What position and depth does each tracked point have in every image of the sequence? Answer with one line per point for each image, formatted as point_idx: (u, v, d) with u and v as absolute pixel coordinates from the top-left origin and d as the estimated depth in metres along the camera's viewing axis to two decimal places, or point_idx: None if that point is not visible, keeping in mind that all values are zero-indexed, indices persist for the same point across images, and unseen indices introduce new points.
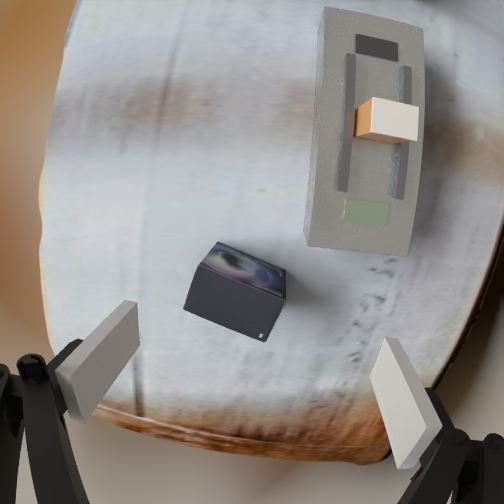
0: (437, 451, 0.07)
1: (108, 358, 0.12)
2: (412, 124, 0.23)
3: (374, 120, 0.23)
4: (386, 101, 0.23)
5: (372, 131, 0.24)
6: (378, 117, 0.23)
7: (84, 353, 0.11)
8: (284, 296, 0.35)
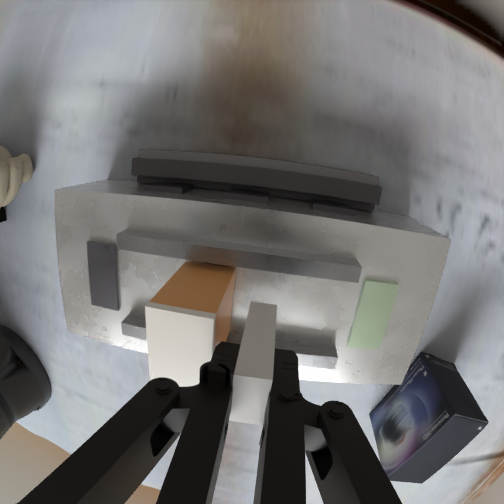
0: (269, 414, 0.09)
1: None
2: (182, 324, 0.13)
3: (189, 385, 0.15)
4: (151, 362, 0.14)
5: None
6: (182, 379, 0.14)
7: (251, 353, 0.13)
8: (450, 409, 0.20)
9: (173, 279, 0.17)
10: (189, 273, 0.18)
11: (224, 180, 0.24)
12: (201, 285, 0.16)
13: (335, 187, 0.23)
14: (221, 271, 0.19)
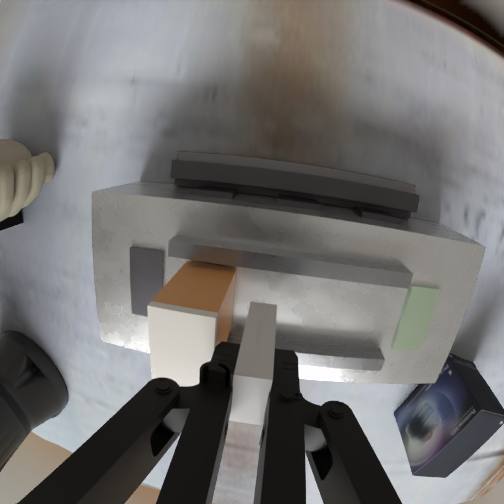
0: (269, 414, 0.09)
1: None
2: (184, 323, 0.14)
3: (190, 384, 0.15)
4: (153, 361, 0.14)
5: None
6: (184, 378, 0.15)
7: (251, 353, 0.13)
8: (476, 405, 0.20)
9: (175, 279, 0.17)
10: (190, 272, 0.18)
11: (270, 186, 0.24)
12: (203, 285, 0.16)
13: (377, 195, 0.23)
14: (222, 271, 0.19)
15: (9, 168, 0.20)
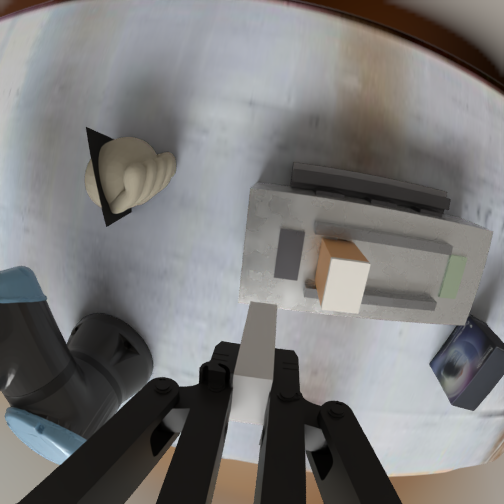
0: (269, 414, 0.09)
1: None
2: (352, 268, 0.24)
3: (346, 310, 0.25)
4: (326, 296, 0.25)
5: (357, 312, 0.25)
6: (343, 306, 0.25)
7: (251, 353, 0.13)
8: (492, 344, 0.30)
9: (328, 246, 0.27)
10: (332, 244, 0.28)
11: (360, 190, 0.34)
12: (347, 250, 0.27)
13: (425, 198, 0.33)
14: (348, 243, 0.29)
15: (155, 163, 0.30)
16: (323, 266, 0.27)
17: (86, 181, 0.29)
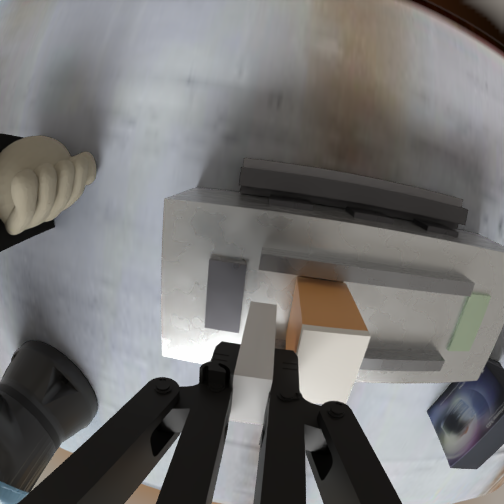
0: (269, 414, 0.09)
1: None
2: (338, 344, 0.13)
3: (326, 401, 0.15)
4: None
5: (344, 402, 0.15)
6: (322, 396, 0.14)
7: (251, 353, 0.13)
8: None
9: (303, 297, 0.17)
10: (311, 290, 0.18)
11: (340, 197, 0.23)
12: (333, 303, 0.16)
13: (434, 209, 0.23)
14: (337, 287, 0.19)
15: (52, 168, 0.20)
16: (294, 328, 0.17)
17: None
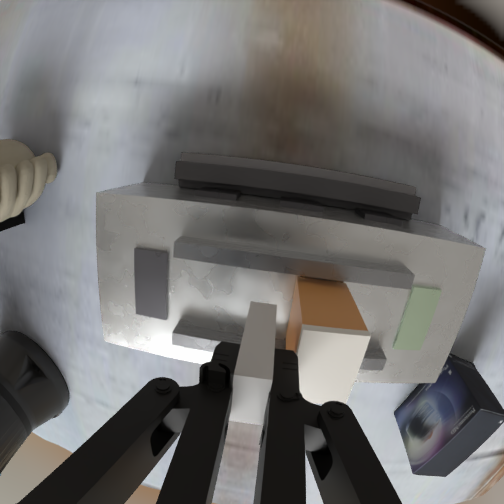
0: (269, 414, 0.09)
1: None
2: (338, 344, 0.13)
3: (326, 401, 0.15)
4: None
5: (344, 402, 0.15)
6: (322, 396, 0.14)
7: (251, 353, 0.13)
8: (476, 404, 0.21)
9: (303, 297, 0.17)
10: (311, 289, 0.18)
11: (273, 187, 0.24)
12: (333, 303, 0.16)
13: (379, 197, 0.23)
14: (337, 287, 0.19)
15: (12, 168, 0.20)
16: (294, 328, 0.17)
17: None
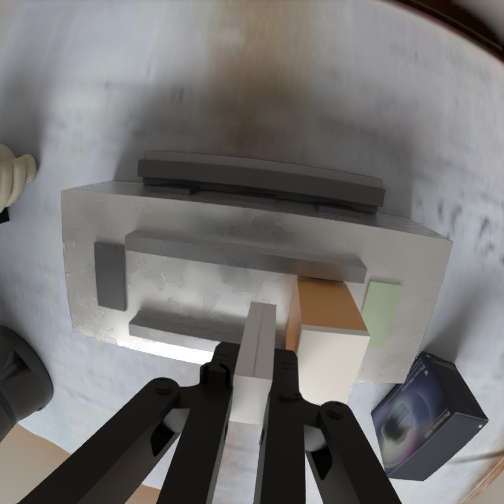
0: (268, 414, 0.09)
1: None
2: (338, 344, 0.13)
3: (326, 401, 0.14)
4: None
5: (344, 402, 0.15)
6: (322, 396, 0.14)
7: (251, 353, 0.13)
8: (451, 407, 0.21)
9: (303, 297, 0.17)
10: (311, 290, 0.18)
11: (230, 182, 0.24)
12: (333, 303, 0.16)
13: (340, 190, 0.23)
14: (337, 287, 0.19)
15: None
16: (294, 328, 0.17)
17: None
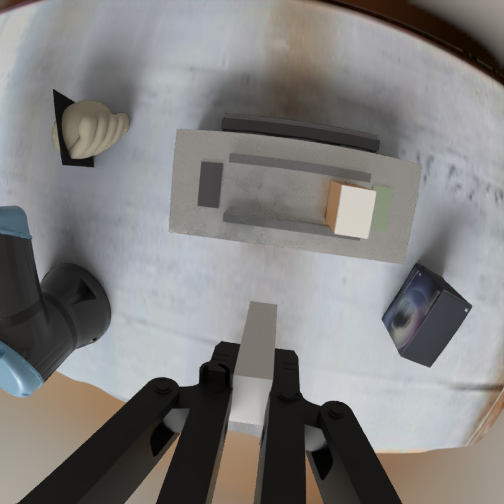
0: (269, 414, 0.09)
1: None
2: (360, 194, 0.26)
3: (357, 235, 0.27)
4: (338, 220, 0.27)
5: (367, 237, 0.27)
6: (354, 231, 0.27)
7: (251, 353, 0.13)
8: (440, 288, 0.34)
9: (338, 182, 0.29)
10: (341, 182, 0.31)
11: (284, 133, 0.37)
12: (354, 185, 0.29)
13: (351, 139, 0.36)
14: (355, 184, 0.31)
15: (105, 116, 0.33)
16: (334, 199, 0.30)
17: (52, 133, 0.32)
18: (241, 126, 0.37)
